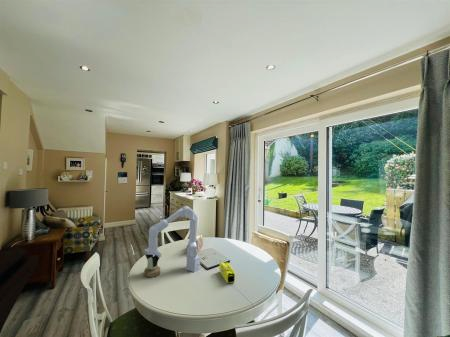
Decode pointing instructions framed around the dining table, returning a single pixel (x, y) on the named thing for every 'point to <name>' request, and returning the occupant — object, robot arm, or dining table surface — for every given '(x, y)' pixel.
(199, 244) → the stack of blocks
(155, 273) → the walnut plinth
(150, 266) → the sage block
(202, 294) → the dining table surface
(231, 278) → the yellow toy chassis
